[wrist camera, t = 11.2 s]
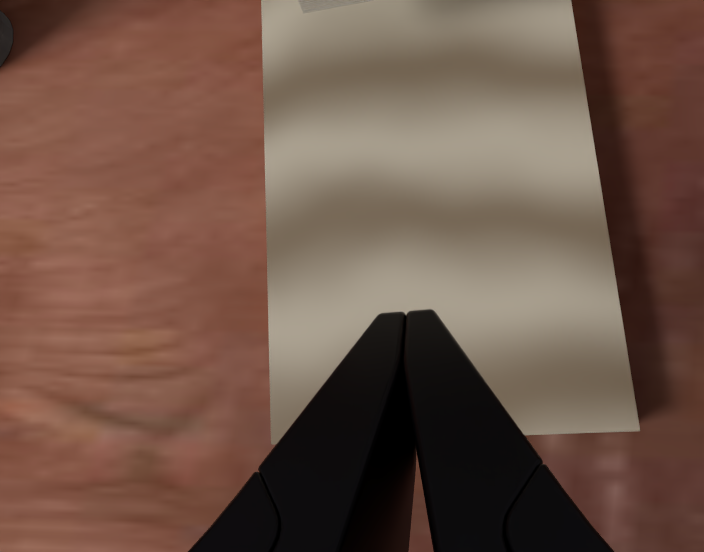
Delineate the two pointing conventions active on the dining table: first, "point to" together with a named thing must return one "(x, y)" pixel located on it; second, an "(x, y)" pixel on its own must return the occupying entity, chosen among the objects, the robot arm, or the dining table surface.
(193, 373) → the dining table surface
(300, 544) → the robot arm
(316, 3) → the grey cube
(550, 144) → the l-shaped wooden stand
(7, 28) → the beverage cup
